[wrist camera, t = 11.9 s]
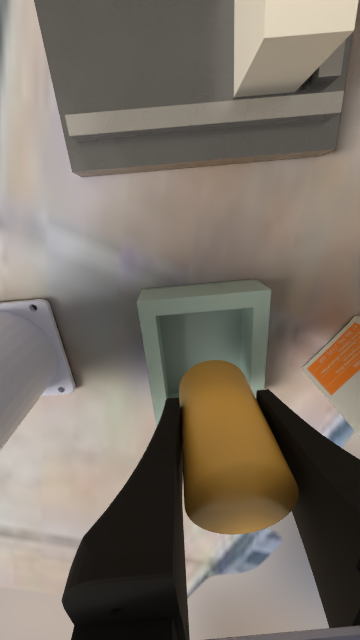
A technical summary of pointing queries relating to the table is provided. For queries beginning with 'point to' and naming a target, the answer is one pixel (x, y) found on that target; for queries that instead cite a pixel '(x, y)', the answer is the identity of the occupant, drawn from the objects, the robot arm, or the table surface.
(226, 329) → the green rectangular tray
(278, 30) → the lever
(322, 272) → the table surface
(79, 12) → the box
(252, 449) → the cap
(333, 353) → the skincare box
